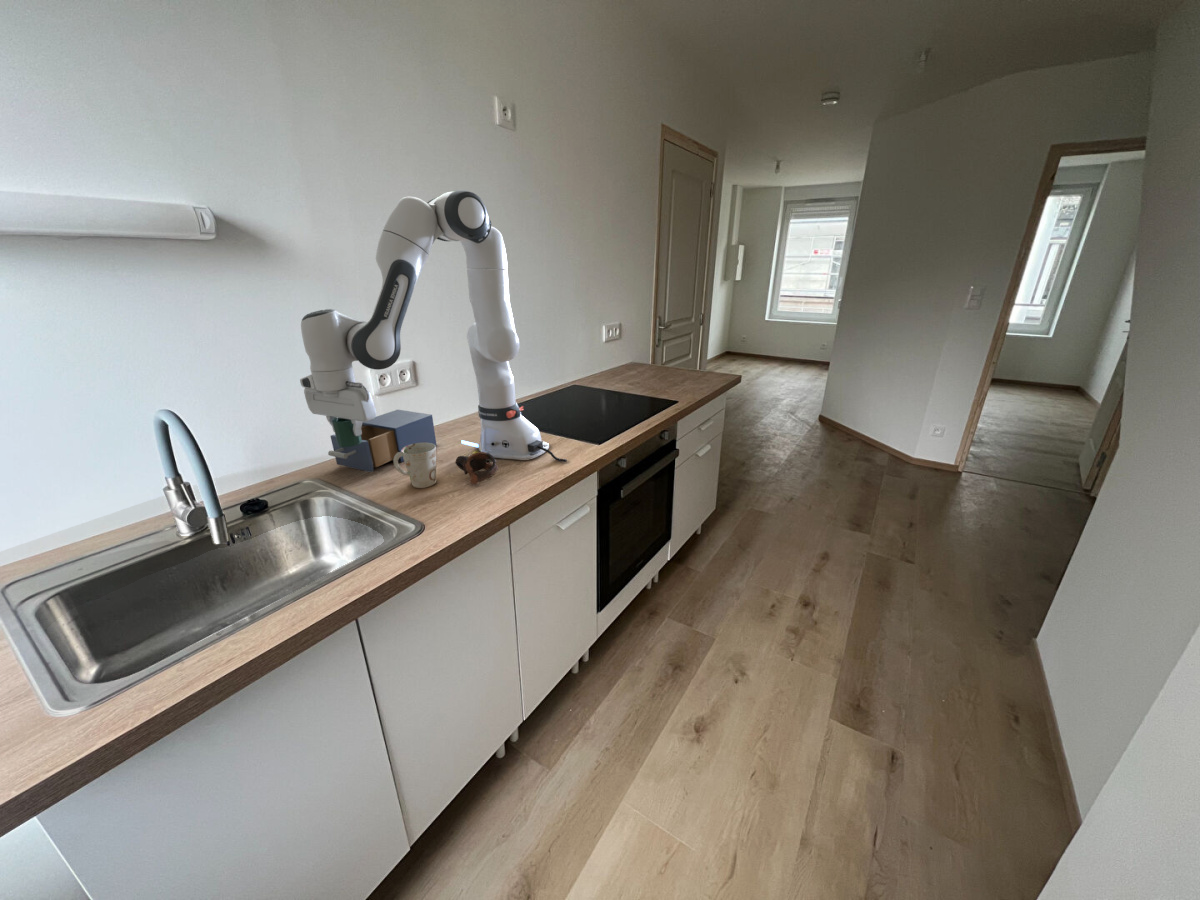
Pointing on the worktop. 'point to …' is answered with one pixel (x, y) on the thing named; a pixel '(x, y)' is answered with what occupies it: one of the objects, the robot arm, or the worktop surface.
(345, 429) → the jar
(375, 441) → the drawer
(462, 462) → the pottery mug
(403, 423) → the cabinet
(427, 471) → the mug
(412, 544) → the worktop surface
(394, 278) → the robot arm
